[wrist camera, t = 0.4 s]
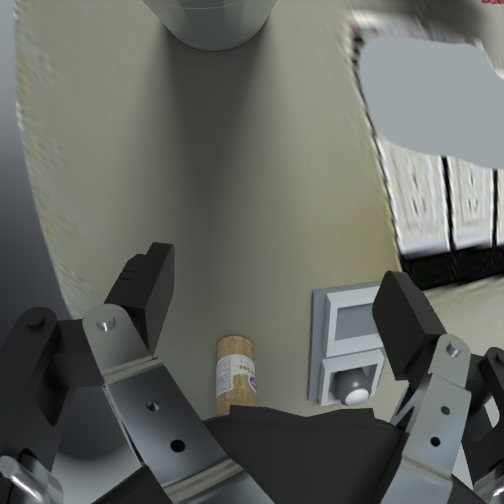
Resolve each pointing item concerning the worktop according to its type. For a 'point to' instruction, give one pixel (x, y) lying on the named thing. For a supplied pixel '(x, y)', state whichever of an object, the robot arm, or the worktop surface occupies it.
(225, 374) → the sprinkles bottle
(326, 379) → the grey flat tray
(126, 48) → the worktop surface
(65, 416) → the robot arm
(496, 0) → the virus model
